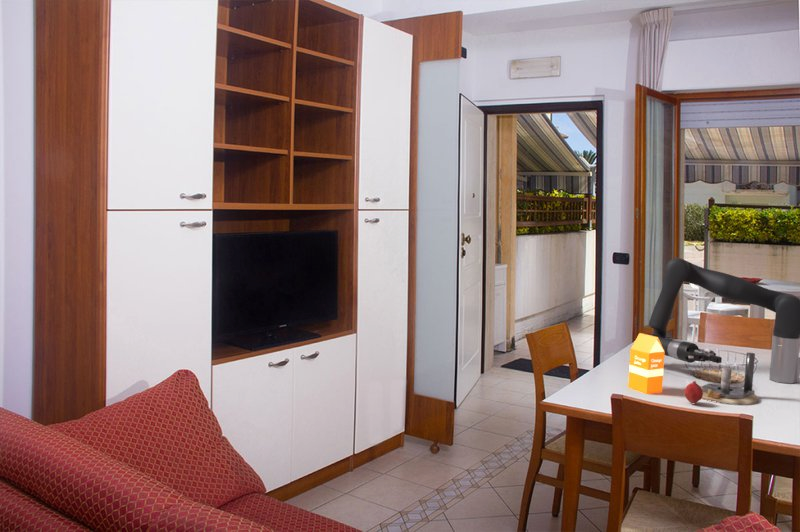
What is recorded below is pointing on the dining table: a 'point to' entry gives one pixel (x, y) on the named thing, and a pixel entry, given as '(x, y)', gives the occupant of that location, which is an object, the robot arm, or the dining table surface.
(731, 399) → the post stand
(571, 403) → the dining table surface
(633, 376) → the orange juice
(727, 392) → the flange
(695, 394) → the onion
